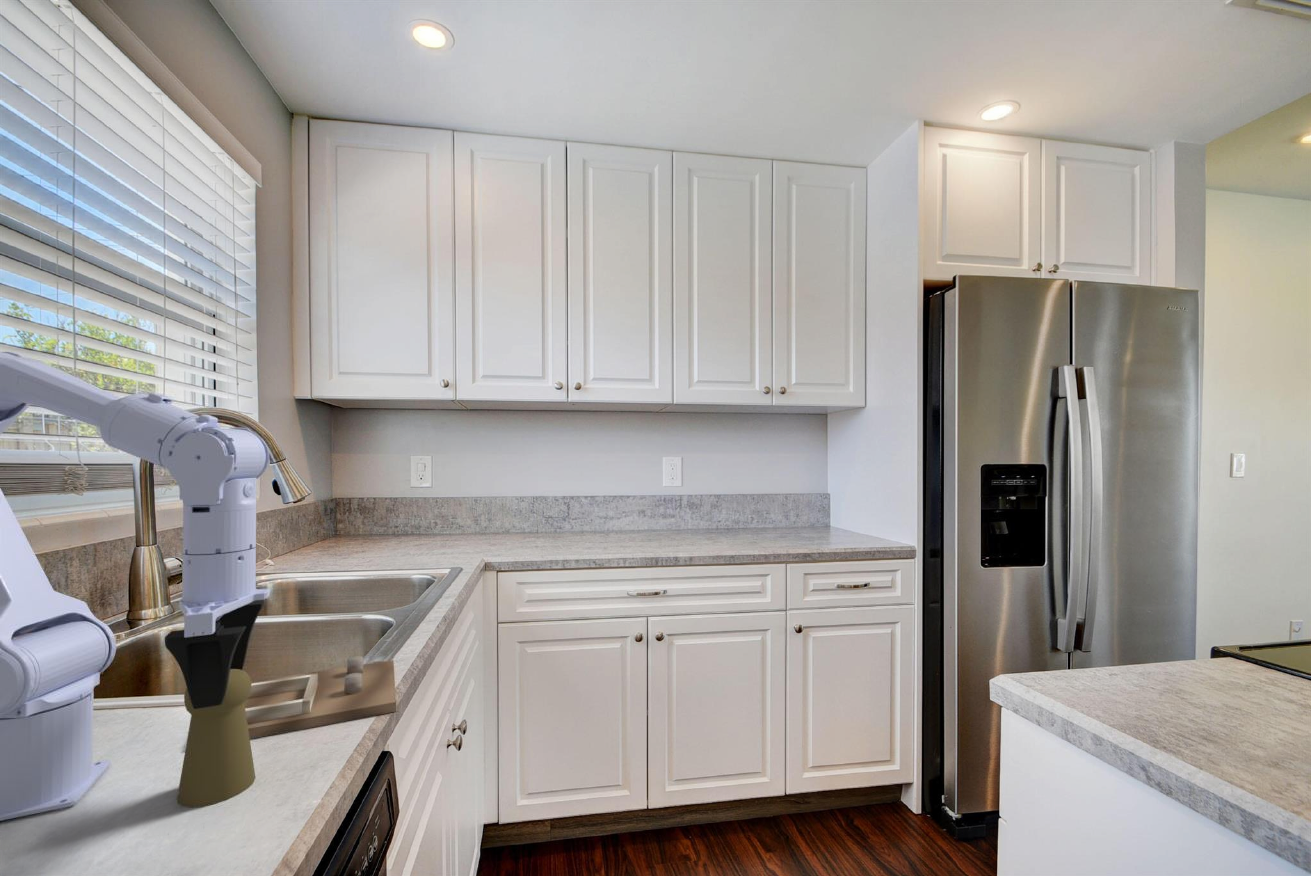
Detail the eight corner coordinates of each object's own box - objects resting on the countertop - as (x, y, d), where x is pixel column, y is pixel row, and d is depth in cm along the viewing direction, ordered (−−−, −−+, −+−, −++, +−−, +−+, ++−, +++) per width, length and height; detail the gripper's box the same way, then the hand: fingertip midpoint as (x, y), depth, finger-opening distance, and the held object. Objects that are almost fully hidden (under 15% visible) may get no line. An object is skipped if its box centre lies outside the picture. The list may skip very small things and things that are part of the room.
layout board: (196, 748, 62) (196, 719, 62) (230, 693, 77) (230, 669, 77) (396, 711, 71) (396, 685, 71) (393, 667, 85) (393, 646, 85)
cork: (162, 812, 51) (164, 689, 52) (196, 775, 57) (198, 665, 57) (239, 800, 53) (241, 682, 53) (265, 766, 59) (266, 659, 59)
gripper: (254, 558, 51) (253, 711, 51) (280, 537, 64) (279, 658, 64) (153, 566, 48) (151, 729, 47) (202, 542, 61) (201, 669, 60)
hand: (219, 689), depth 55 cm, fingers open, 7 cm apart
